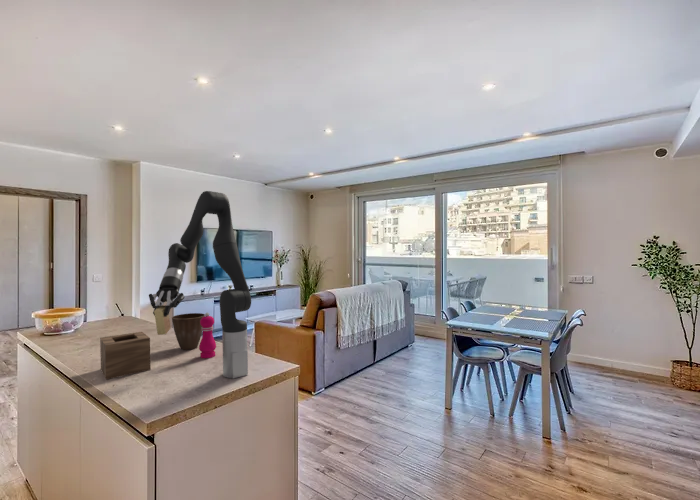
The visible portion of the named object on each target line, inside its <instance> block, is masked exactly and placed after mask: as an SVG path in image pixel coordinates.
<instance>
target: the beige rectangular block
mask: <svg viewBox="0 0 700 500" xmlns="http://www.w3.org/2000/svg"><path fill="white" fill-rule="evenodd" d="M165 306H167V304H166V305H162V306H159V307H158V308H157V309H156V310H155V311H154V310H153V311H154V314H155V316H154V318H155V326H156V334H157V335H158V336H159V335H161V336H162V335H164V336H165V335H167V333H168V332H169V331H170V330H171V329H172V328H171V320H170V314H169V315H167V317H165V316H164V311H165ZM154 314H153V315H154Z"/></svg>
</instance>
